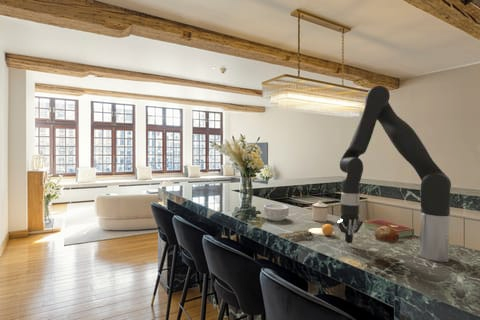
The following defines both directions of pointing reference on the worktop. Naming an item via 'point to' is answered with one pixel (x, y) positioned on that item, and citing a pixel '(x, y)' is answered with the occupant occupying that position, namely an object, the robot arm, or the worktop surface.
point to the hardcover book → (398, 228)
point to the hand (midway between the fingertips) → (348, 242)
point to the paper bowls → (276, 211)
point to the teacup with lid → (319, 212)
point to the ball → (327, 229)
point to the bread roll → (386, 234)
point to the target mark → (318, 231)
